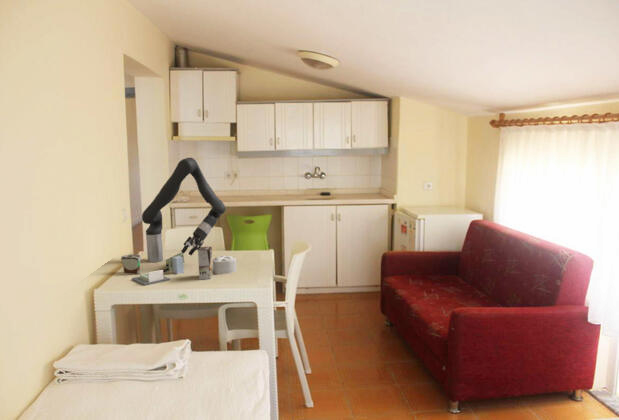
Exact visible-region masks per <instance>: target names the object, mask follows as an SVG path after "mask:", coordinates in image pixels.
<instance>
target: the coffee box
mask: <svg viewBox="0 0 619 420" xmlns="http://www.w3.org/2000/svg"><path fill="white" fill-rule="evenodd" d="M212 249H213V248H212V246H201V247H200V248H199V250H197V256H198V257H197V259H198V260H197V261H198V279H199V280H211V279H212V277H213V274H214V272H213V251H212Z"/></svg>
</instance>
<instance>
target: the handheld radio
mask: <svg viewBox="0 0 619 420" xmlns="http://www.w3.org/2000/svg"><path fill="white" fill-rule="evenodd" d="M184 254H185V253H182V252H179V253H177V254H175V255H173V256H171V257H169V258H166V259H165V266H166V268H165V269H162V270H163V273H165V272H167V271H173V257H177V256H181V257H183V264H184V263H185V255H184Z"/></svg>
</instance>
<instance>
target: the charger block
mask: <svg viewBox="0 0 619 420" xmlns="http://www.w3.org/2000/svg"><path fill="white" fill-rule="evenodd" d="M172 257H173V256H172ZM184 270H185V269H184V263H183V257H181V256H177V257H173V269H172V273H173V274H176V275H180V274H183V273H184V272H185V271H184Z"/></svg>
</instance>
